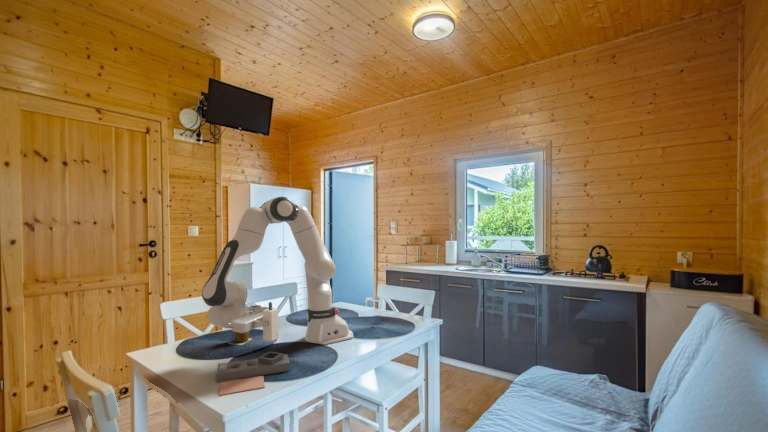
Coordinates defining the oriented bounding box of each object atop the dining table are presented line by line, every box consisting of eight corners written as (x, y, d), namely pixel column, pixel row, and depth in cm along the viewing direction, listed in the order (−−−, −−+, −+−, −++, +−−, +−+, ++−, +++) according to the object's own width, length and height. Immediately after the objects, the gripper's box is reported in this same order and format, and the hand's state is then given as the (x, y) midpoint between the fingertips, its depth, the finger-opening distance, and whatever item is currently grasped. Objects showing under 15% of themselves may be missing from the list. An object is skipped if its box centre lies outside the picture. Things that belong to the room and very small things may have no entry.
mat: (263, 376, 132) (263, 375, 132) (264, 387, 123) (264, 386, 123) (221, 383, 127) (221, 382, 127) (219, 395, 118) (219, 394, 118)
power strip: (287, 361, 145) (287, 348, 145) (289, 370, 136) (289, 357, 136) (218, 371, 136) (218, 358, 136) (216, 382, 127) (216, 368, 127)
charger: (270, 336, 141) (269, 300, 141) (278, 337, 139) (278, 301, 139) (263, 339, 137) (262, 302, 137) (271, 341, 136) (271, 303, 135)
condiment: (252, 338, 172) (252, 313, 171) (242, 345, 163) (242, 318, 163) (238, 337, 173) (238, 312, 173) (227, 344, 164) (227, 317, 164)
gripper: (222, 317, 133) (253, 321, 128) (261, 304, 152) (288, 306, 147) (223, 335, 133) (253, 339, 128) (261, 319, 152) (289, 322, 147)
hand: (272, 321), depth 138 cm, fingers closed on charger, 4 cm apart
